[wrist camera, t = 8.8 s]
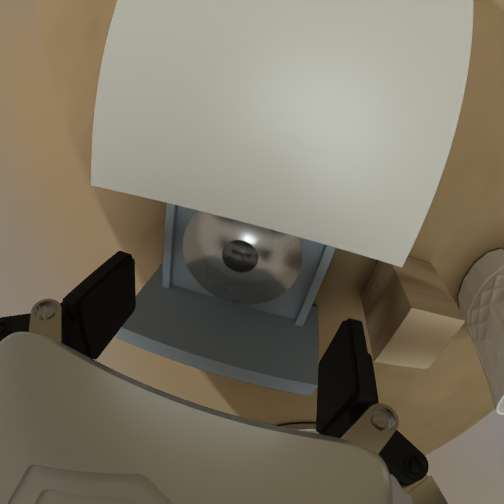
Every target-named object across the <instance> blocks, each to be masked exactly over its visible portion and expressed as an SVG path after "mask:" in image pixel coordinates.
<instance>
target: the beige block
mask: <svg viewBox="0 0 504 504" xmlns="http://www.w3.org/2000/svg"><path fill="white" fill-rule="evenodd" d="M361 300H362V305H363V309H364V314H365V318H366V323H367V328H368V333H369V338H370V343H371V348H372V354H373V360H374V362H377V363H384V364H390V365H397V366H404V367H412V368H420V369H428V368H429V366H430V365H431V364H432V363H433V362H434V361H435V360H436V358H437V357H438V356H439V355H440V354H441V352H442V351H443V350H444V349H445V347H446V346H447V345H448V344H449V342H450V341H451V340H452V339H453V337H454V336H455V335H456V333H457V332H458V331H459V329H460V328H461V327H462V325H463V324H464V322H465V319H464V317H463V315H462V314H461V312H460V310H459V308H458V306H457V305H456V303H455V301H454V300H453V298H452V296H451V295H450V293H449V291H448V290H447V288H446V286H445V285H444V283H443V281H442V280H441V278H440V277H439V275H438V274H437V272H436V271H435V269H434V268H433V266H432V265H431V264H430V263H427V262H424V261H421V260H418V259H415V258H412V257H409V256H407V258H406V260H405V262H404V264H403V266H402V267H399V266H396V265H393V264H389V263H386V262H383V261H380V260H379V261H378V263H377V265H376V267H375V269H374V271H373V273H372V275H371V277H370V279H369V281H368V283H367V285H366V287H365V289H364V291H363V293H362V295H361Z"/></svg>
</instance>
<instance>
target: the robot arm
mask: <svg viewBox="0 0 504 504" xmlns="http://www.w3.org/2000/svg"><path fill="white" fill-rule="evenodd" d="M135 307H136V296H135V261H134V259H133V258H132V256H131V255H130V254H128V253H125V252H122V251H118V252H117V253H116V254H115V255H113V256H112V257H111V258H110V259H108V260H107V261H106V262H105V263H104V264H102V265H101V266H100V267H99V268H98V269H97V270H95V271H94V272H93V273H92V274H91V275H89V276H88V277H87V278H86V279H85V280H84V281H83V282H81V283H80V284H79V285H78V286H77V287H76V288H75V289H73V290H72V291H71V292H70V293H69V294H68V295H67V296H66V297H65V298H64V299H63V302H62V303H59V302H58V301H56V300H53V299H44V300H41V301H39V302H37V303H36V304H35V305H34V306H33V308H32V310H31V313H30V314H23V315H17V316H9V317H2V318H0V504H448V503H447V501H446V500H445V498H444V496H443V494H442V493H441V491H440V489H439V487H438V486H437V484H436V482H435V481H434V479H433V477H432V476H429V477H428V475H427V472H428V461H427V459H426V457H425V456H424V455H423V454H422V453H421V452H420V451H419V450H418V449H417V448H416V447H415V446H414V445H413V444H412V443H410V442H409V441H408V440H407V439H406V438H405V437H404V436H403V435H402V434H401V433H400V432H399V431H397V430H396V429H397V427H398V422H399V420H398V416H397V414H396V412H395V411H394V410H393V409H392V408H391V407H389V406H388V405H385V404H380V403H379V402H378V395H377V388H376V381H375V375H374V369H373V363H372V358H371V355H370V354H368V352H367V346H366V340H365V335H364V330H363V325H362V322H361V321H358V320H354V319H350V318H349V319H348V320H347V321H343V322H342V323H341V325H340V327H339V329H338V331H337V333H336V334H335V336H334V338H333V340H332V342H331V343H330V345H329V347H328V349H327V350H326V352H325V354H324V355H323V357H322V359H321V361H320V363H319V367H318V395H317V417H316V424H313V423H302V424H289V425H283V426H275V425H271V424H266V423H262V422H258V421H253V420H249V419H246V418H242V417H238V416H234V415H231V414H227V413H224V412H221V411H217V410H214V409H211V408H208V407H204V406H201V405H198V404H195V403H192V402H190V401H187V400H184V399H181V398H178V397H176V396H173V395H170V394H167V393H165V392H163V391H160V390H158V389H155V388H153V387H150V386H148V385H146V384H143V383H141V382H138V381H136V380H134V379H132V378H130V377H127V376H125V375H123V374H121V373H119V372H117V371H114V370H113V369H110V368H109V367H107V366H105V365H103V364H101V363H99V362H97V361H95V360H93V359H97V358H98V357H99V355H100V354H101V353H102V351H103V350H104V349H105V347H106V346H107V345H108V343H109V342H110V341H111V340H112V338H113V337H114V336H115V335H116V333H117V332H118V331H119V330H120V328H121V327H122V326H123V325H124V323H125V322H126V321H127V320H128V318H129V317H130V316H131V315H132V313H133V312H134V310H135Z"/></svg>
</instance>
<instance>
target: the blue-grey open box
mask: <svg viewBox="0 0 504 504" xmlns="http://www.w3.org/2000/svg"><path fill="white" fill-rule="evenodd" d="M197 212H198V210H194V209H190V208H186V207H182V206H178V205H174V204H170V203H167V205H166V217H165V232H164V250H163V264H162V265H161V266H160V267H159V268H158V270H157V271H156V272H155V273H154V274H153V276H152V277H151V278H150V279H149V281H148V282H147V283H146V284H145V286H144V287H143V288H142V289H141V291H140V292H139V293H138V295H137V296H136V307H135V310H134V312H133V313H132V315H131V316H130V317H129V318H128V320H127V321H126V322H125V323H124V325H123V326H122V327H121V328H120V330H119V331H118V332H117V333H116V335H117V338H119V339H121V340H123V341H125V342H128V343H130V344H132V345H135V346H137V347H140V348H142V349H145V350H147V351H150V352H152V353H155V354H158V355H160V356H163V357H166V358H169V359H171V360H174V361H177V362H180V363H183V364H186V365H189V366H192V367H195V368H198V369H201V370H204V371H207V372H211V373H214V374H217V375H221V376H224V377H228V378H231V379H235V380H239V381H242V382H246V383H250V384H254V385H258V386H262V387H267V388H271V389H276V390H280V391H285V392H290V393H295V394H300V395H306V396H311V395H312V393H313V392H314V391H315V389H316V388H317V386H318V367H319V334H318V307H314V306H312V304H313V302H314V299H315V297H316V295H317V293H318V290H319V288H320V286H321V283H322V281H323V279H324V276H325V274H326V271H327V269H328V266H329V264H330V262H331V259H332V257H333V254H334V252H335V249H336V247H332V246H329V245H325V244H322V243H318V242H315V241H311V240H308V239H304V238H302V262H301V268H300V271H299V274H298V276H297V278H296V280H295V282H294V283H293V285H292V286H291V287H290V288H289V289H288V290H287V291H286V292H285V293H284V294H282V295H281V296H279V297H277V298H275V299H273V300H271V301H268V302H265V303H261V304H253V305H244V304H236V303H232V302H228V301H225V300H223V299H220V298H218V297H216V296H214V295H213V294H211V293H210V292H208V291H207V290H206V289H204V288H203V287H202V286H201V285H200V284H199V283H198V282H197V281H196V280H195V278H194V277H193V275H192V274H191V272H190V271H189V269H188V267H187V264H186V262H185V258H184V254H183V237H184V233H185V230H186V227H187V225H188V223H189V221H190V220H191V219H192V217H193V216H194V215H195V214H196V213H197Z"/></svg>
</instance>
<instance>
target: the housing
mask: <svg viewBox="0 0 504 504" xmlns="http://www.w3.org/2000/svg"><path fill="white" fill-rule="evenodd" d="M472 27H473V0H118V1H117V4H116V7H115V11H114V14H113V18H112V21H111V25H110V29H109V33H108V37H107V41H106V45H105V50H104V54H103V59H102V64H101V70H100V76H99V82H98V89H97V96H96V104H95V113H94V123H93V137H92V157H91V185H92V186H96V187H101V188H105V189H110V190H114V191H119V192H123V193H127V194H132V195H136V196H140V197H145V198H149V199H153V200H157V201H162V202H166V203H170V204H174V205H178V206H182V207H186V208H190V209H194V210H198V211H202V212H206V213H210V214H214V215H218V216H222V217H226V218H230V219H234V220H238V221H241V222H245V223H249V224H253V225H256V226H260V227H264V228H268V229H271V230H275V231H279V232H282V233H286V234H290V235H293V236H297V237H300V238H304V239H308V240H311V241H315V242H318V243H322V244H325V245H329V246H332V247H336V248H339V249H343V250H346V251H349V252H353V253H356V254H360V255H363V256H366V257H370V258H373V259H376V260H380V261H383V262H386V263H389V264H393V265H396V266H399V267H402V266H403V264H404V262H405V260H406V258H407V256H408V254H409V252H410V250H411V248H412V246H413V244H414V242H415V240H416V237H417V235H418V233H419V231H420V229H421V226H422V224H423V222H424V219H425V217H426V215H427V212H428V210H429V207H430V205H431V202H432V200H433V197H434V195H435V192H436V189H437V187H438V184H439V181H440V178H441V175H442V172H443V170H444V167H445V163H446V160H447V157H448V154H449V151H450V147H451V144H452V141H453V137H454V133H455V130H456V126H457V122H458V118H459V114H460V110H461V105H462V100H463V96H464V91H465V85H466V79H467V73H468V67H469V59H470V51H471V41H472Z"/></svg>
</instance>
